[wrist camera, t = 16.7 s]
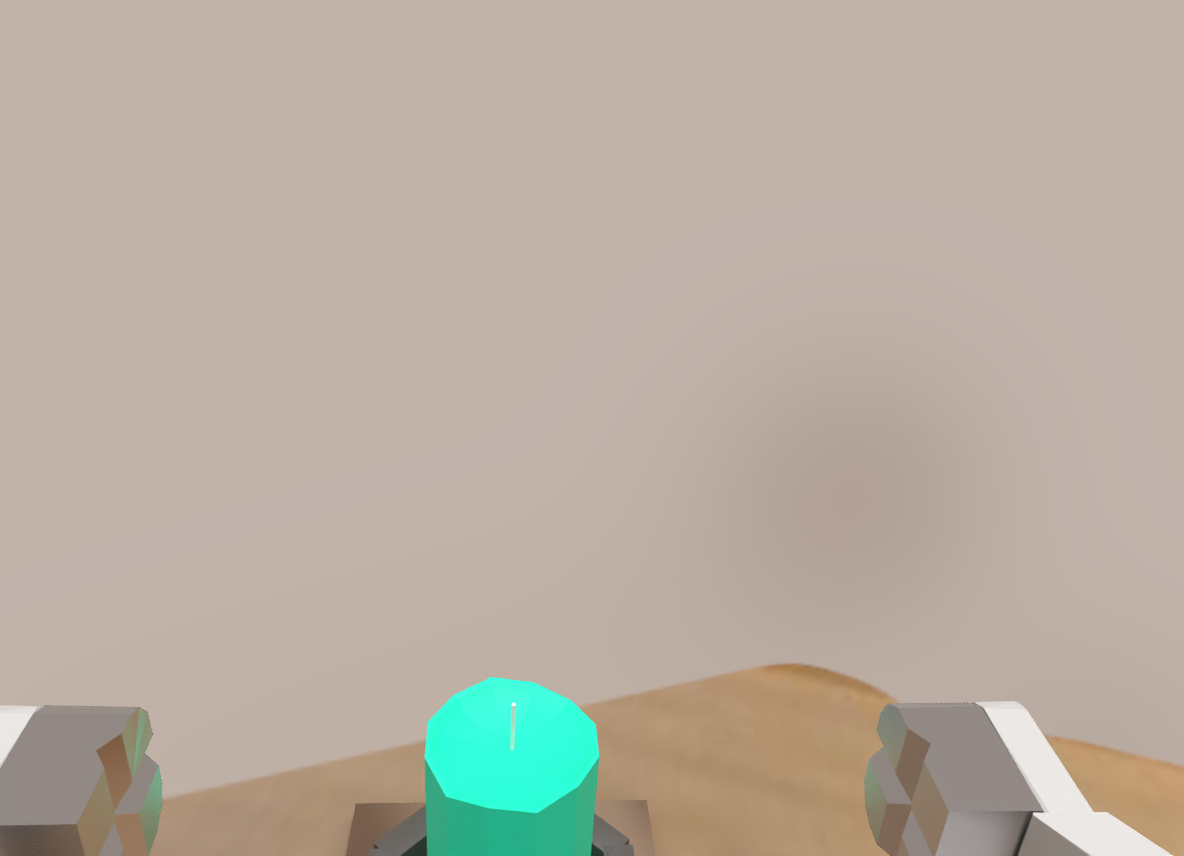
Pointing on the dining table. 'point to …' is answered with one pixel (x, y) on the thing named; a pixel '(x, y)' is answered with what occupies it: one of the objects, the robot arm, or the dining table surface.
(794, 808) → the dining table surface
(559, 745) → the candle
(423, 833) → the collar holder
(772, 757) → the dining table surface
